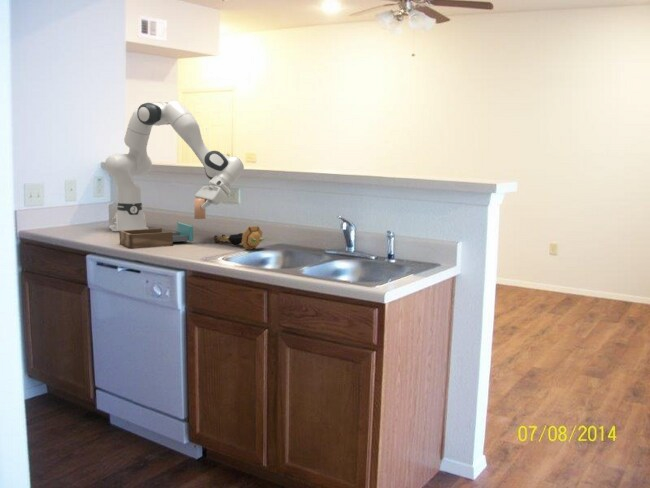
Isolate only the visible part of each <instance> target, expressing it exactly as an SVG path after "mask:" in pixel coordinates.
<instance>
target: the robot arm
mask: <svg viewBox="0 0 650 488" xmlns="http://www.w3.org/2000/svg"><path fill="white" fill-rule="evenodd" d="M165 125H170V127H172V129H173V130H174V131H175V132H176V134H177V135H178V136H179V137H180V138H181V139H182V140H183V141H184V142H185V143H186V144H187V146H188V147H189V148H190V149H191V150H192V151H193V153H194V154H195V156H196V157H197V159H198V160H199V161H200V163H201V164H202V166H203V168H204V172H205V173H204V174H205V176H206V177H207V178H208V179H209V181H208V184H207V185H203V186H202V187H201V188H200V189H199V190H198V191H197V192H196V193H195V194H194V197H195V198H203V199H206V202H205V203H204V204H202V205H201V206H200V208H201V209H203V210H204V209H205V210H206V208H208V207H209V206H210V205H219V204H220V203H222V202H223V201H224V199H226V197H227V196H228V195H230V194H231V193H232V191H231V190H230V188H231V187H232V185H233V184H234V183H236V181H238V179H239V178H240V176H241V175H242V174H243V173H244V171H245V170H244V168H245V167H244V164H243V162H242V161H241V159H239V158H238V157H237V156H230V155H226V154H224V153H221V152H220V151H218V150H209V149H208V147H207V146H206V145H205V143H204V140H203V138H202V133H201V129H200V125H199V124H198V122H197V120H196V118H195V117H194V115H193V114H192V113H191V112H190V110H189V109H188V108H186V106H184V105H183V104H182V103H181V102H180V101H179V100H170V101H168V102H161V101H156V102H145V103H143V104H142V103H141V104H140V106H138V108H135V109H134V111H133V112H132V113H131V117H130V119H129V121H128V125H127V127H126V130H125V136H124V139H123V140H124V143H125V146H126V147H127V148H129V150H128V153H116V154H112V155H109V156H107V158H106V159H105V163H104V168H105V171H106V172H107V173H108V174H109V175H111V177H112V178H113V180H114V182H115V183H116V187H117V195H118V196H117V197H118V202H117V208H116V209H117V211H116V212H115V214H114V215H113V217H111V219H110V221H111V223H113V224H111V225H109V226H108V229H110V230H111V232H119V231H124V230H140V229H149V227H148V226H147V222H146V214H145V212H144V211H143V203H142V189H141V186H140V185H138V184H137V183H135V181H134V178H133V176H142V175H143V176H144V175H146V174H148V173H150V172H151V171H152V167H153V163H152V159H151V158H150V156H148V152H147V147H148V142H149V139H150V135H151V132H152V128H153V126H165Z"/></svg>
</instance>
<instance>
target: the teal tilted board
mask: <svg viewBox="0 0 650 488" xmlns="http://www.w3.org/2000/svg"><path fill="white" fill-rule="evenodd" d="M176 224H177V225H176V227H177V228H176V230H177V232H175V231H174V232H173V231H172V232H173V243H175V242H187V241H188V242H194V226H193V225H189V224H186V223H183V222H179V221H178V222H177V223H176Z"/></svg>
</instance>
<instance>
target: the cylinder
mask: <svg viewBox="0 0 650 488" xmlns="http://www.w3.org/2000/svg"><path fill="white" fill-rule="evenodd" d="M205 202H206V199H203V198H196V197H195V198H194V205H193V206H194V207H193V208H194V210H193V211H194V213H193V214H194V219H195V220H205V219H206V208H205V209H204V210H203V209H201V208H200V206H201V205H202V204H204V203H205Z"/></svg>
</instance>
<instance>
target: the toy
mask: <svg viewBox="0 0 650 488" xmlns="http://www.w3.org/2000/svg"><path fill="white" fill-rule="evenodd" d="M213 240H214V243H216V244H223V243H231V244H232V245H234V246H239V245H241V246H242V247H243V248H244V249H245V250H246V249H248V250H254V249H253V248H255V249H256V248H257V247H258V246H259V245H260V244H261V242H262V241H264V237H263V230H261V229H260V227H259V226H258V225H253V226H251V225H250V226H249V227H247V229H245V231H244V232H239V233H237V234H230V235H229V236H226V235H225V234H222V235H221V237H219V238H218V235H216V234H214V237H213Z"/></svg>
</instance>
